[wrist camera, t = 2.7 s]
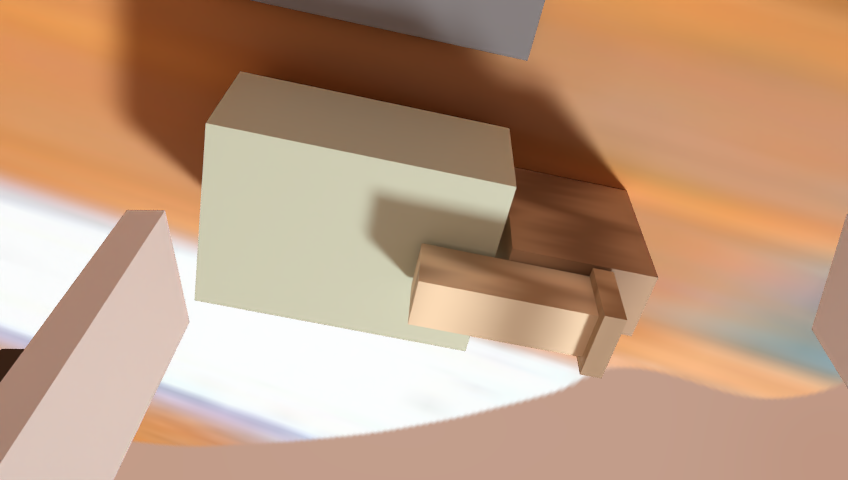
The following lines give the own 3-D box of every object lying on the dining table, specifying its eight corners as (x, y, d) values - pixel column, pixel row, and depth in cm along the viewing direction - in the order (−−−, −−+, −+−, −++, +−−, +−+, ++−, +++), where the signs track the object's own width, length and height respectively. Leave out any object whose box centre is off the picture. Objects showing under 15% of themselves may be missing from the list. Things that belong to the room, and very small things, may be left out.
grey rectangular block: (226, 233, 44) (194, 300, 39) (240, 71, 39) (205, 123, 34) (464, 279, 45) (465, 351, 40) (509, 128, 40) (516, 187, 35)
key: (409, 292, 38) (404, 341, 35) (424, 234, 36) (420, 280, 33) (590, 327, 38) (601, 378, 35) (613, 271, 36) (627, 320, 33)
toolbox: (250, 205, 45) (211, 292, 38) (264, 76, 41) (223, 146, 34) (593, 273, 47) (616, 368, 40) (640, 155, 43) (676, 239, 35)
